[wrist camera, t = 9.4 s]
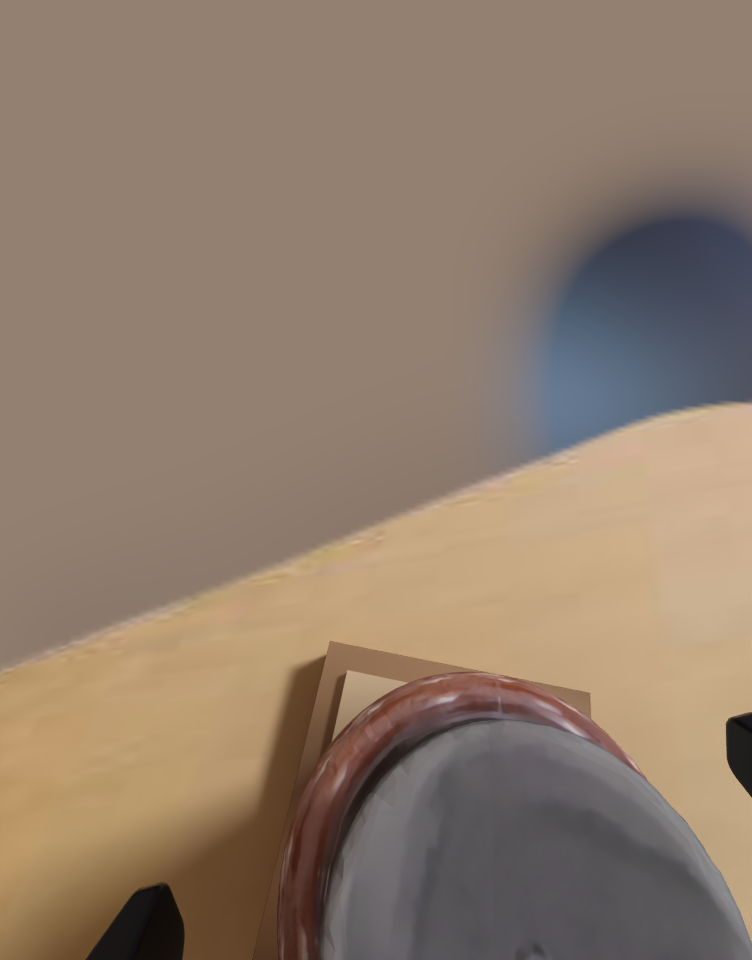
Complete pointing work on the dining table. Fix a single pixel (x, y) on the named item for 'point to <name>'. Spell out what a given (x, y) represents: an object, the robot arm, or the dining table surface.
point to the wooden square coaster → (340, 698)
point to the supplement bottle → (493, 840)
